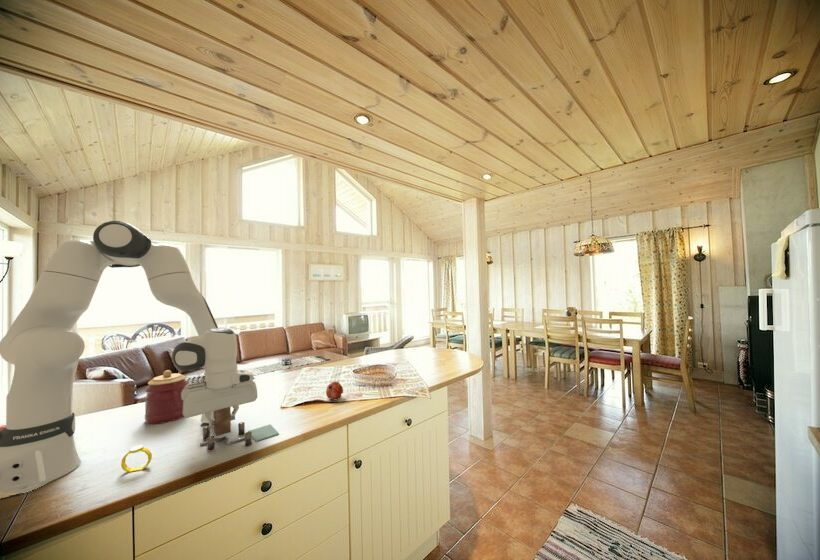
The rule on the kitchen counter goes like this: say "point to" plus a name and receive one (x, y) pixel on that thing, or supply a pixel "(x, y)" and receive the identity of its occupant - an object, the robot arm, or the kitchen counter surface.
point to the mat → (263, 433)
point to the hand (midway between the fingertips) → (222, 422)
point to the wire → (225, 440)
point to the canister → (164, 398)
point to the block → (222, 421)
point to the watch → (134, 450)
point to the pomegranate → (334, 390)
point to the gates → (212, 438)
